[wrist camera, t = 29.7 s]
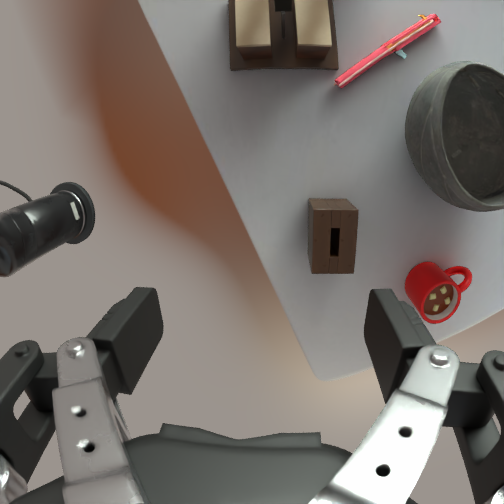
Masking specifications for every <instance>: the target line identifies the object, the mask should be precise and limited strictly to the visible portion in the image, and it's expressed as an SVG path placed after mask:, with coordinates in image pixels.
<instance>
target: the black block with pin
mask: <svg viewBox="0 0 504 504" xmlns="http://www.w3.org/2000/svg"><path fill="white" fill-rule="evenodd" d="M274 7H275V12H281V25H282V38H285V11H292V0H274Z"/></svg>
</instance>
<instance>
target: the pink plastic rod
mask: <svg viewBox="0 0 504 504" xmlns="http://www.w3.org/2000/svg"><path fill="white" fill-rule="evenodd" d="M418 16H420V17H422V20H421V21H419V22H417V23H416V24H414V25H413V26H411V27H409V28H408V29H406V30H405V31H403V32H402V33H400V34H399V35H397V36H396V37H394V38H393V39H391V40H389V41H388V42H386V43H385V44H383V45H382V46H381V47H380V48H379V49H377V50H376V51H374V52H373V53H371V54H370V55H368V56H367V57H366V58H364V59H363V60H361V61H360V62H358V63H357V64H356V65H354V66H353V67H352V68H350V69H349V70H347V71H346V72H345V73H343V74H342V75H341V76H339V77H338V78H336V79H335V84H334V85H336V84H337V85H338V86H339V87H340V88H343V87H344V86H346V85H347V84H348V83H350V82H351V81H352V80H354V79H355V78H357V77H358V76H359V75H361V74H362V73H363V72H365V71H366V70H368V69H369V68H370V67H372V66H373V65H375V64H376V63H377V62H379V61H380V60H382V59H383V58H385V57H386V56H387V55H390V54H392V53H393V52H394V51H395V52H394V53H397V55H399V56H401V57H402V58H406V56H407V55H406V54H405V53H404V52H403V51H402V49H401V48H403V47H404V46H406V45H407V44H409V43H410V42H412V41H413V40H415V39H416V38H418V37H419V36H421V35H422V34H424V33H425V32H427V31H428V30H430V29H431V28H433V27H434V26H436V25H437V24H439V23H441V21H440V19H439V18H438V16H437V15H436V14H430V15H429V16H427V17H425V16H424V15H418ZM431 19H433V20H431ZM390 51H391V52H390Z"/></svg>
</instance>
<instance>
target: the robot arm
mask: <svg viewBox="0 0 504 504" xmlns="http://www.w3.org/2000/svg"><path fill="white" fill-rule="evenodd" d="M0 184H1V185H4V186H6V187H8V188H10V189H12V190H14V191H16V192H17V193H19V194H21V195H22V196H23V197H25V198H26V199H27V200H28V201H29V202H28V203H25V204H22V205H19V206H17V207H14V208H11V209H9V210H6V211H4V212H1V213H0V277H9V276H11V275H13V274H14V273H16V272H17V271H19V270H20V269H22V268H24V267H25V266H27V265H28V264H30V263H32V262H33V261H35V260H36V259H38V258H40V257H41V256H43V255H45V254H46V253H48V252H50V251H51V250H53V249H55V248H57V247H58V246H60V245H62V244H64V243H66V242H67V241H69V240H71V239H74V238H76V237H77V236H79V235H80V234H81V233H82V232H83V231H84V229H85V226H86V221H87V213H86V208H85V205H84V203H83V201H82V199H81V198H80V197H79V196H78V195H77V194H76V193H75V192H73V191H71V190H62V191H59V192H57V193H54V194H51V195H48V196H45V197H42V198H39V199H36V200H33V201H32V200H31V198H30V197H29V196H28V195H27V194H25V193H24V192H23V191H21V190H19V189H18V188H16V187H14V186H12V185H10V184H8V183H6V182H3V181H0ZM162 334H163V320H162V315H161V310H160V305H159V300H158V295H157V291H156V289H154V288H144V287H136V288H134V289H133V291H132V292H131V293H130V294H129V295H128V297H127V298H126V299H123V300H121V301H119V302H118V303H116V304H114V305H113V306H112V307H111V309H110V310H109V311H108V312H107V314H105V315H104V317H103V318H102V320H100V321H99V322H98V324H97V325H96V326H95V327H94V328H93V330H92V331H91V332H90V333H89V334H88V335H87V337H86V338H85V337H78V338H74V339H70V340H68V341H66V342H65V343H63V344H62V345H61V346H60V347H59V348H58V350H57V352H56V353H42V352H41V350H40V347H39V345H38V343H37V342H35V341H32V340H27V341H22V342H19V343H17V344H15V345H14V346H13V347H12V348H10V349H9V351H8V352H7V353H6V354H5V355H4V356H3V357H2V358H1V359H0V504H417V503H416V502H415V501H414V500H412V499H411V498H410V497H409V495H410V493H411V491H412V489H413V488H414V485H415V484H416V482H417V480H418V478H419V476H420V474H421V472H422V470H423V468H424V466H425V464H426V462H427V460H428V457H429V455H430V453H431V450H432V449H433V446H434V444H435V442H436V439H437V437H438V434H439V432H440V429H441V427H442V426H446V427H453V429H454V432H455V435H456V438H457V441H458V444H459V447H460V450H461V454H462V457H463V460H464V463H465V467H466V470H467V474H468V477H469V481H470V484H471V488H472V492H473V495H474V500H475V504H504V352H502V351H497V350H493V351H489V352H487V353H485V355H484V356H483V358H482V361H481V363H480V364H477V363H465V362H460V360H459V357H458V355H457V354H456V353H455V352H454V351H453V350H451V349H450V348H448V347H445V346H442V345H437V344H436V343H435V341H434V339H433V338H432V336H431V334H430V333H429V331H428V330H427V328H426V327H425V325H423V322H422V320H421V319H420V318H419V316H418V314H417V313H416V311H415V310H414V308H413V307H411V306H410V305H409V304H407V303H406V302H404V301H399V300H398V299H397V297H396V296H395V294H394V292H393V291H392V289H372V290H371V291H370V294H369V300H368V306H367V313H366V319H365V325H364V338H365V343H366V345H367V348H368V351H369V354H370V357H371V360H372V363H373V366H374V369H375V372H376V375H377V379H378V381H379V384H380V388H381V391H382V394H383V398H384V401H385V404H386V405H385V407H384V409H383V410H382V412H381V413H380V415H379V416H378V418H377V419H376V421H375V422H374V424H373V425H372V427H371V429H370V430H369V431H368V433H367V434H366V436H365V437H364V439H363V440H362V442H361V443H360V444H359V446H358V447H357V449H356V450H355V451H354V453H351V452H348V451H346V450H344V449H341V448H339V447H336V446H332V445H328V444H323V443H321V435H320V432H315V433H278V434H273V435H267V436H261V437H255V438H248V439H240V440H238V439H233V438H229V437H226V436H222V435H219V434H216V433H213V432H210V431H206V430H203V429H200V428H193V427H186V426H179V425H172V424H165V423H163V424H162V427H161V430H160V432H159V433H158V434H149V435H144V436H140V437H137V438H134V439H132V438H131V436H130V433H129V430H128V428H127V425H126V423H125V420H124V417H123V414H122V412H121V409H120V406H119V403H118V401H117V399H116V396H117V395H118V393H124V394H129V395H131V394H132V392H133V390H134V388H135V386H136V384H137V382H138V381H139V379H140V377H141V375H142V373H143V371H144V369H145V367H146V366H147V364H148V362H149V360H150V358H151V356H152V354H153V353H154V351H155V349H156V347H157V345H158V343H159V341H160V340H161V338H162ZM24 390H25V392H26V394H27V396H28V397H29V399H30V400H31V401H30V403H29V404H28V405H27V407H26V408H25V410H24V411H23V413H22V415H21V416H20V417H19V419H18V420H17V419H16V418H15V416H14V413H13V407H14V404H15V402H16V400H17V399H18V397H19V396H20V395H21V394H22V392H23V391H24ZM494 413H495V414H496V416H497V419H498V420H499V423H500V426H501V435H500V434H499V432H498V430H497V427H496V425H495V423H494V421H493V418H492V417H493V415H494ZM55 430H56V433H57V440H58V446H59V452H60V457H61V463H62V468H63V473H64V475H63V476H61V477H59V478H58V479H55V480H53V481H52V482H50V483H47V484H45V485H43V486H41V487H39V488H37V489H35V490H33V491H30V492H28V493H27V483H28V482H29V479H30V477H31V475H32V473H33V471H34V469H35V467H36V466H37V464H38V462H39V460H40V457H41V456H42V454H43V452H44V450H45V448H46V446H47V445H48V442H49V441H50V439H51V437H52V435H53V433H54V432H55Z"/></svg>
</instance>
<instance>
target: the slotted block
mask: <svg viewBox="0 0 504 504" xmlns="http://www.w3.org/2000/svg"><path fill="white" fill-rule="evenodd" d="M229 44H230V70H231V71H238V70H255V69H325V70H338V69H339V67H338V53H337V41H336V30H335V20H334V11H333V3H332V0H292V11H285V38H282V25H281V12H275V7H274V0H229Z"/></svg>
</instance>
